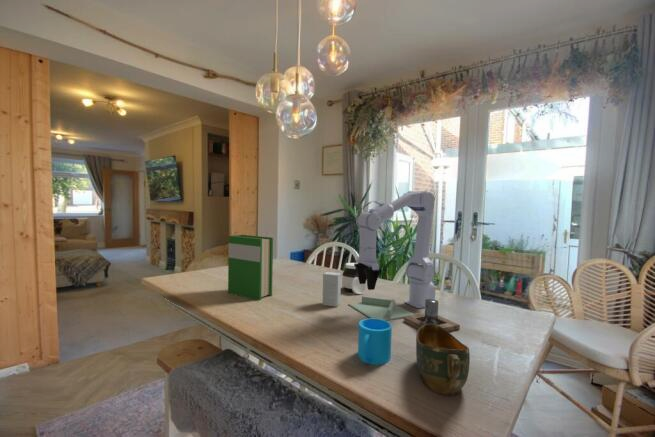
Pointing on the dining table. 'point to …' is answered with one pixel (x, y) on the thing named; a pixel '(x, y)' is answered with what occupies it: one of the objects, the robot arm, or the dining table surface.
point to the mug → (374, 341)
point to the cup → (441, 359)
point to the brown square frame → (444, 323)
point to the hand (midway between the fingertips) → (366, 286)
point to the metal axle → (431, 311)
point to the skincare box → (331, 289)
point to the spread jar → (352, 280)
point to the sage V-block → (380, 308)
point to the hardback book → (250, 266)
